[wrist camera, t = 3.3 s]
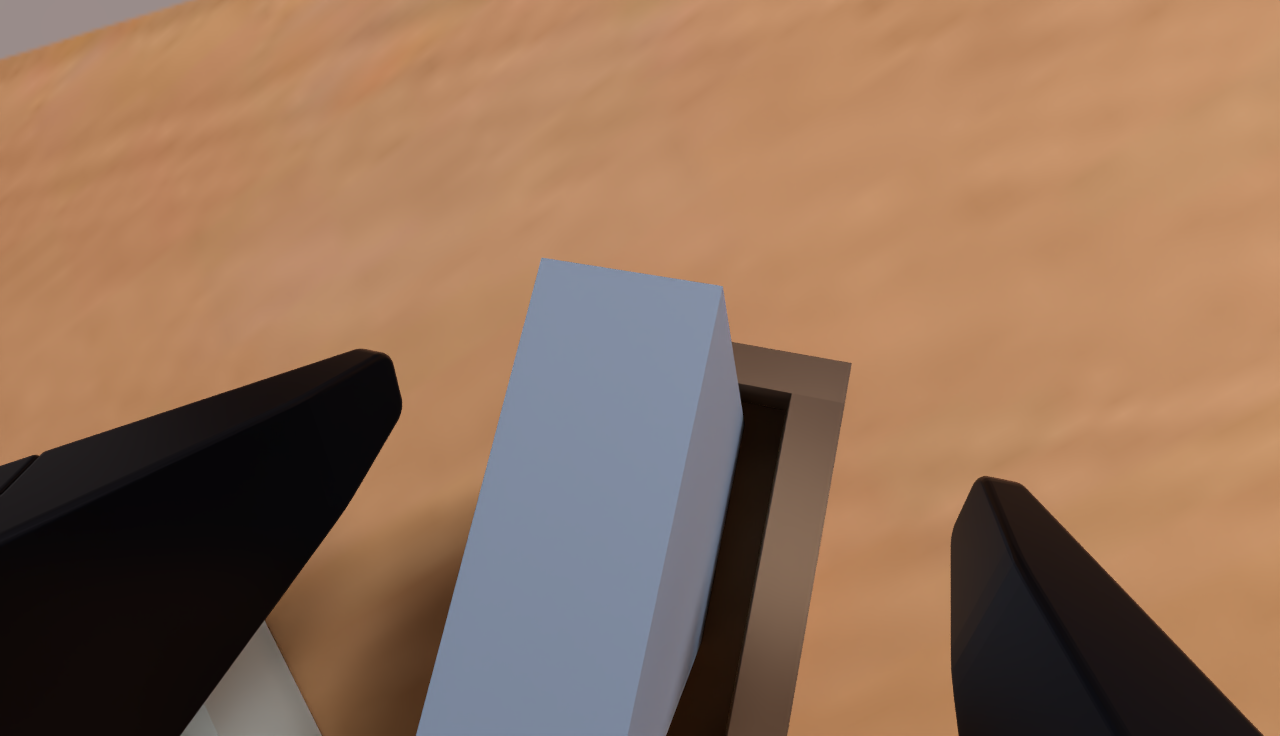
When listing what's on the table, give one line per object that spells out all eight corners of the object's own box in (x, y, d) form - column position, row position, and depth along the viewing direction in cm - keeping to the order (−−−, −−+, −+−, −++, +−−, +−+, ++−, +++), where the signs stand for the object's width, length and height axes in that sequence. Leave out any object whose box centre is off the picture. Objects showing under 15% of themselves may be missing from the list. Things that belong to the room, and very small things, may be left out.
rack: (707, 1106, 12) (696, 1257, 10) (461, 995, 13) (395, 1105, 11) (835, 385, 14) (851, 363, 12) (614, 344, 16) (589, 316, 13)
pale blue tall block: (700, 643, 14) (579, 969, 4) (632, 623, 14) (377, 884, 5) (744, 424, 15) (723, 286, 5) (678, 410, 15) (541, 257, 5)
